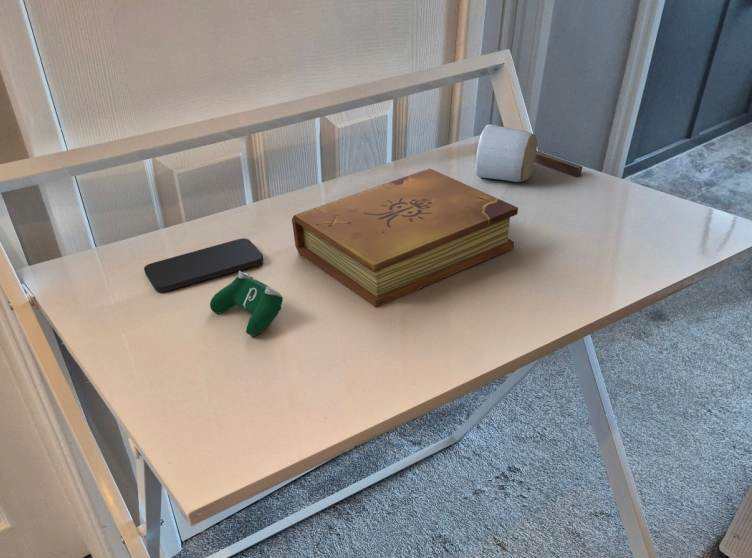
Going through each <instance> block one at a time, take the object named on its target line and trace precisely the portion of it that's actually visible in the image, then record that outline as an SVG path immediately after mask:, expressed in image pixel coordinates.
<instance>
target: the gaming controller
mask: <svg viewBox="0 0 752 558" xmlns="http://www.w3.org/2000/svg"><path fill="white" fill-rule="evenodd" d="M283 299H284V297H283V296H282V294H281V293H280V291H278V290H277V289H275V288H273V287H271V286H269V285H267V284H266V283H264V282H262V281H260V280H257V279H255V278H254V277H253V276H252V275H250V274H248V273H246V272H244V271H241V270H238V274H237V276H236V277H235V278H234V280H233V281H231V283H229V284H227V285H226V286H225V287H223V288H221V289H220V290H219V291H217V292H216V293H215V294H214V295H213V296H212V298H211V299H210V302H209V307H210V310H211V312H213V313H214V314H220V313H219V312H221V313H224V312H226V311H227V310H230V309H231V308H234V307H238V308H240V309H242V310H243V311H245V312H247V313H249V314H250V317H249V319H248V322H247V325H246V328H245V330H246V331H245V333H246V334H247V335H249V336H250V337H252V338H255V337H256V336H257V335H259V334H260V333H262V332H263V331H264V330H265V329H267V327H269V326H270V324H271V323H272V322H273V321H274V320H275V319H276V317H277V316H278V315H279V313H280V311H281V310H282V304H283ZM223 311H224V312H223Z"/></svg>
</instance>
